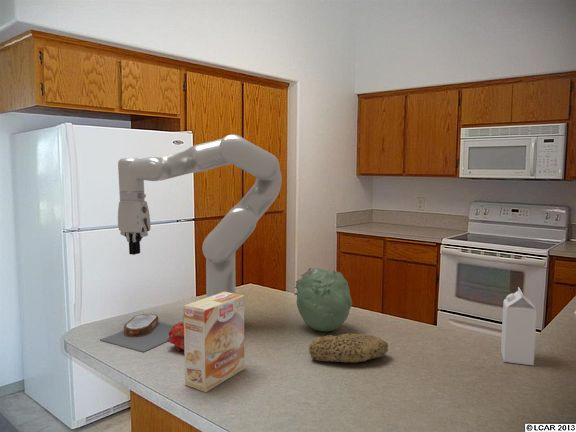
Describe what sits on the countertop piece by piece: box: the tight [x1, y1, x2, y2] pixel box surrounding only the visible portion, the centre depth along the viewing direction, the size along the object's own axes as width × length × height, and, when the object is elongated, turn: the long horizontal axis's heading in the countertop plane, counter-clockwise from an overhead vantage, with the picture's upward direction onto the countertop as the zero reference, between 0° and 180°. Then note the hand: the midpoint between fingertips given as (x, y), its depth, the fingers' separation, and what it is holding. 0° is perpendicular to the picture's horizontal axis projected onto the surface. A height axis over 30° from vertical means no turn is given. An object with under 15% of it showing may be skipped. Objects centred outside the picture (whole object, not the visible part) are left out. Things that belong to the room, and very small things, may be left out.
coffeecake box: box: [183, 292, 246, 393], centre depth 111 cm, size 15×7×20 cm, turn 148°
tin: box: [123, 313, 159, 337], centre depth 145 cm, size 15×3×8 cm
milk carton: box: [500, 286, 538, 366], centre depth 122 cm, size 7×7×19 cm
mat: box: [99, 321, 174, 353], centre depth 140 cm, size 18×20×1 cm
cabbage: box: [293, 267, 353, 332], centre depth 144 cm, size 16×19×20 cm
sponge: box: [308, 332, 389, 364], centre depth 123 cm, size 13×8×20 cm
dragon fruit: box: [167, 321, 184, 352], centre depth 129 cm, size 8×8×12 cm
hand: (134, 253), depth 147 cm, fingers closed
